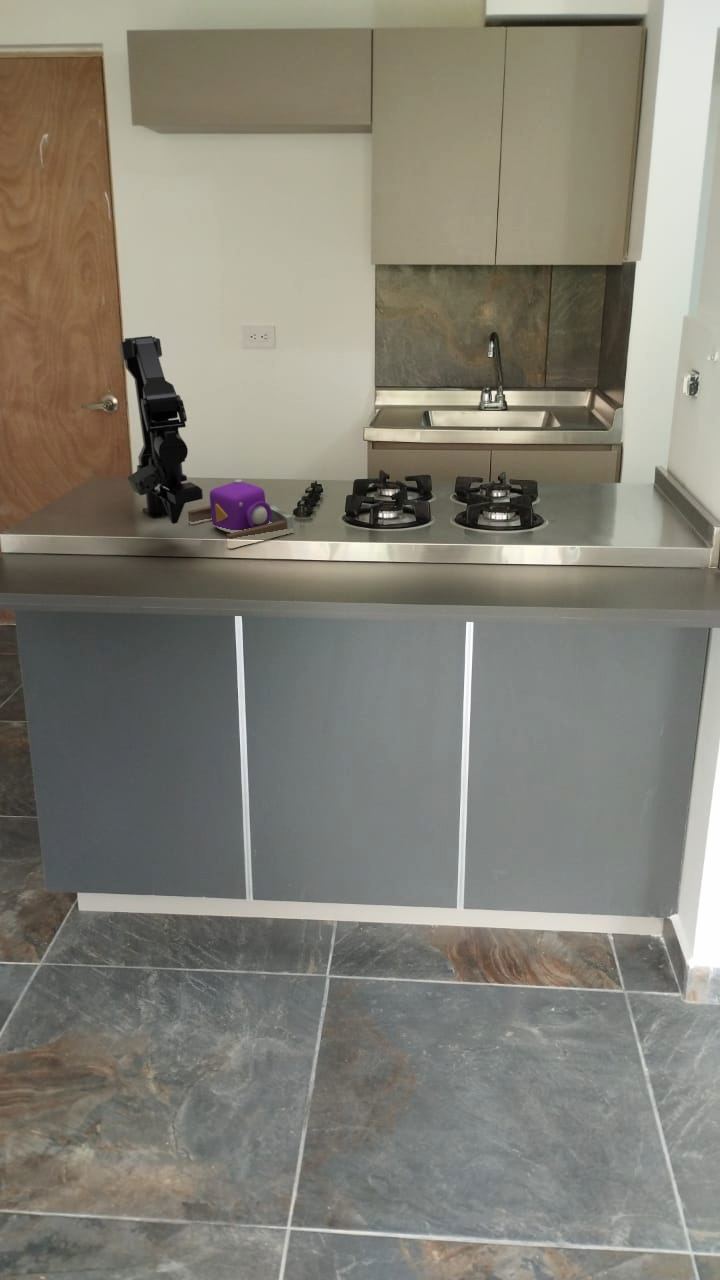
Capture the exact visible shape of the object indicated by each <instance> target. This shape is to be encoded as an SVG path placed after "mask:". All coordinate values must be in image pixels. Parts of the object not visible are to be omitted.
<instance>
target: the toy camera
mask: <svg viewBox="0 0 720 1280" xmlns="http://www.w3.org/2000/svg"><path fill="white" fill-rule="evenodd" d="M265 494H266V493H265V491H264V489H263V488H262V487H260V486H257V485H254V484H251V483H247V482H244V481H243V480H242V479H240V478H239V479H234V482H230V483H227V484H224V485H221V486H218V487H215V488H212V489H211V490H210V492H209V501H210V502H209V503H210V505H209V506H211V515H212V521H211V522H212V523H211V524H212V526H213V525H215V526H218V527H222V528H226V529H230V530H244V529H249V528H254V527H258V526H262V525H266V524H268V523H269V521H270V519H271V508H270V506H269V505H268V504H267V503H268V502H267V501H266V495H265ZM266 502H267V503H266Z"/></svg>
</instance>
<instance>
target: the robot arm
mask: <svg viewBox="0 0 720 1280" xmlns="http://www.w3.org/2000/svg"><path fill="white" fill-rule="evenodd" d="M162 352H163V351H162V344H161V339H160V338H157V337H155V336H152V335H149V336H148V335H147V336H137V337H136V336H135V337H127V338H124V341H122V342H120V344H119V353H120V358H121V361H124V365H125V369H126V371H128V372H129V374H130V375H131V377H132V378H133V379H134V385H135V393H136V400H137V408H138V413H139V414H138V415H139V420H140V428H141V435H142V436H141V437H142V443H143V444H142V445H143V446H142V448H141V449H140V450H141V451H140V452H139V455H138V457H137V458H138V464H137V465H136V471H135V472H134V473H132V474H130V475H128V477H127V480H128V482H129V484H130V486H131V488H132V490H133V492H135V493H137V494H138V495H139V496H144V495H145V498H146V507H144V508H142V509H141V510H142V512H143V513H145V514H146V515H148V516H149V517H151V518H152V519H156V518H155V517H157V518H161V517H164V516H165V517H166V516H168V518H169V521H170V523H171V524H172V525H176V524H177V523H179V519H180V518H181V514H182V511H183V509H184V507H185V505H186V504H187V503H190V502H191V503H192V502H195V501H199V500H203V498H204V494H203V489H202V488H201V487H200V486H198V485H196V484H195V483H194V482H191V481H190V482H189V481H188V478H187V476H188V475H186V474H185V473H183V464H182V463H183V462H186V459H187V456H188V450H189V449H188V446H187V445H186V442H185V441H184V440H183V438H182V437H181V434H180V431H179V429H180V428H181V429H182V428H187V427H186V422H188V421H187V419H188V418H187V414H186V409H185V405H184V401H183V399H181V396H180V395H179V394H177V393H176V390H175V387H174V385H173V384H172V383H170V382H169V381H167V380H166V378H165V373H164V371H163V368H162V364H161V361H160V358H161V357H162V356H163V353H162ZM187 481H188V482H187Z"/></svg>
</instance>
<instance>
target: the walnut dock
mask: <svg viewBox="0 0 720 1280" xmlns="http://www.w3.org/2000/svg"><path fill="white" fill-rule="evenodd" d="M265 502H266V503H267V504H268V505H269V506H270V508H271V519H270V522H272V523H270V524H266V525H262V526H258V527H254V528H250V529H246V530H242V531H238V532H234V533H230V534H229V533H226V539H227V538H229V539H233V538H237V537H242V536H248V535H255V534H261V533H266V532H273V531H278V530H284V529H290V528H294V516H293V515H291V514H289V513H288V512H286V511H284V510H282V509H280V508H278V507H277V506H275V505H273V504H271V503H269V502H267V501H265ZM187 513H188V514H187V515H188V516H187V517H188V522H189V521H191V522H195V521H199V520H204V519H211V518H212V515H211V505H207V506H203V507H200V508H194V509H190V510H187Z"/></svg>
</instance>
